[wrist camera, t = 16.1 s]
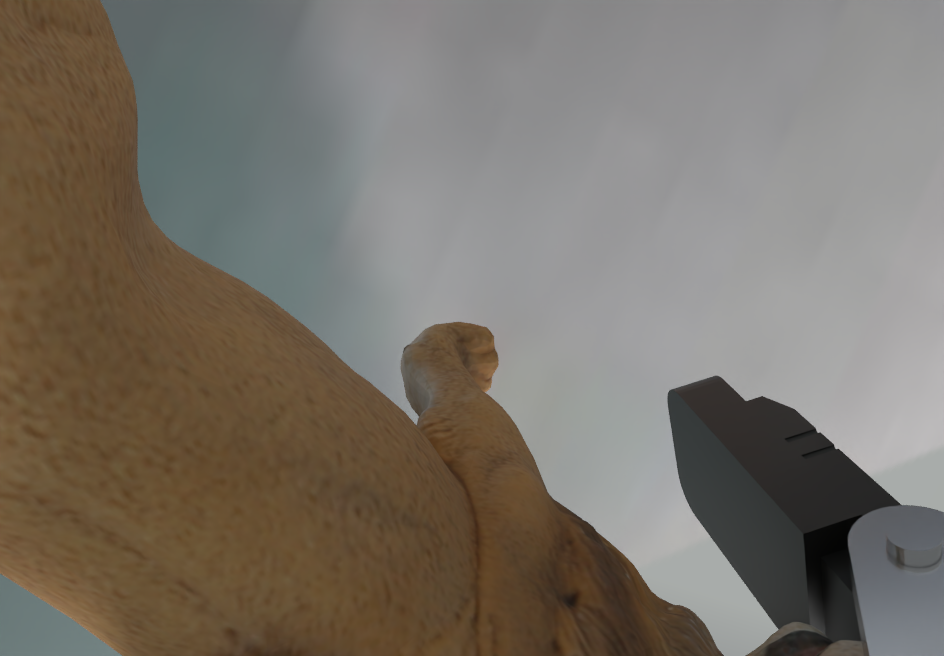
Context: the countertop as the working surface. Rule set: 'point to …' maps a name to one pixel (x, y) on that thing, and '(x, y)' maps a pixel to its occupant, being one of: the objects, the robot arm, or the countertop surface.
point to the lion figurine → (256, 434)
